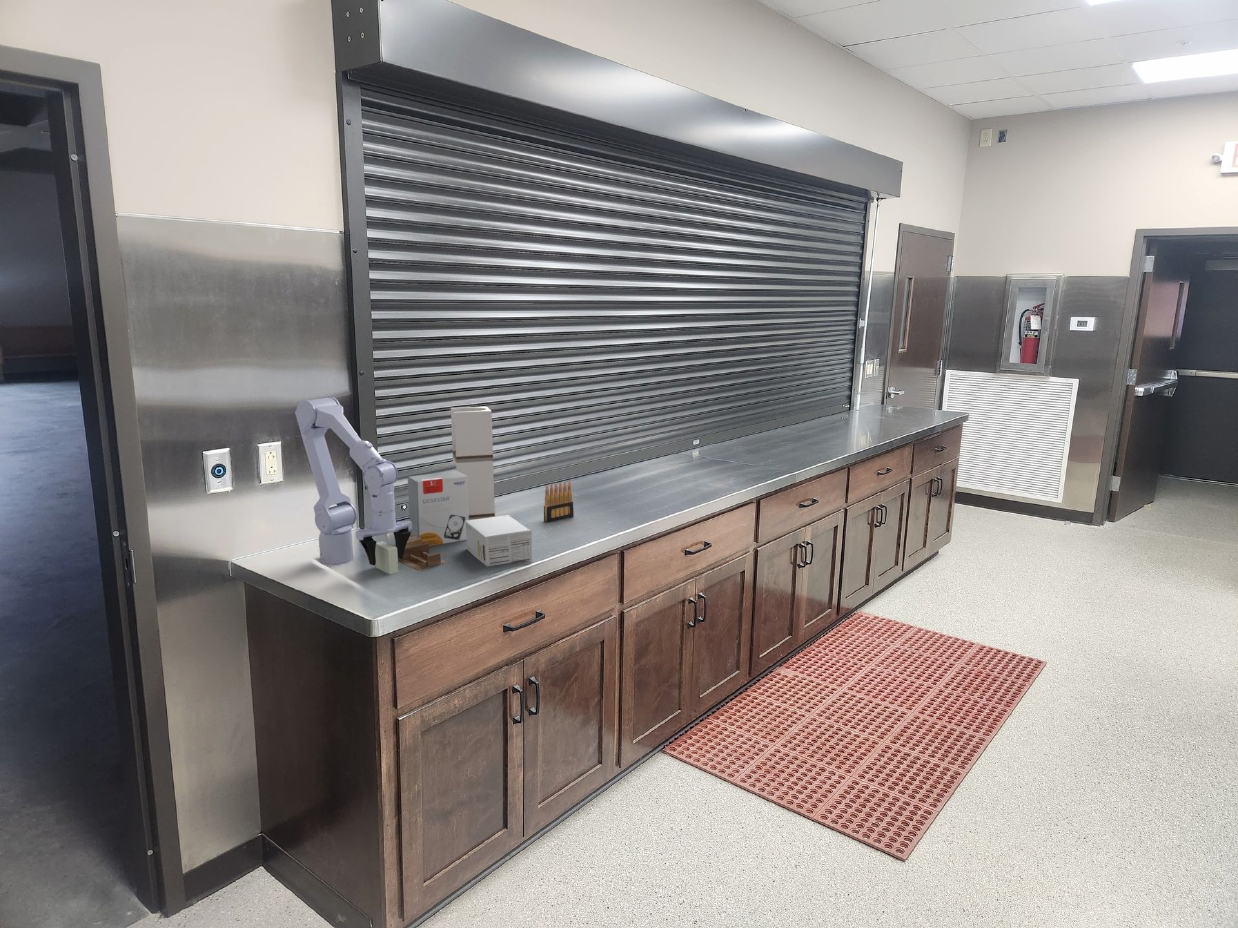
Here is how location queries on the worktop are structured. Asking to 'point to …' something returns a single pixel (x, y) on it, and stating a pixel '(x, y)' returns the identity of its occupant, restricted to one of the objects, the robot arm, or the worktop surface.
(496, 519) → the supplement box
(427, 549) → the rack
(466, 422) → the tall banded white pillar
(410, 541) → the offcut upper
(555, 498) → the ammunition clip
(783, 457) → the worktop surface
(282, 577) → the worktop surface
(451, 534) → the hard drive box
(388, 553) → the panel
